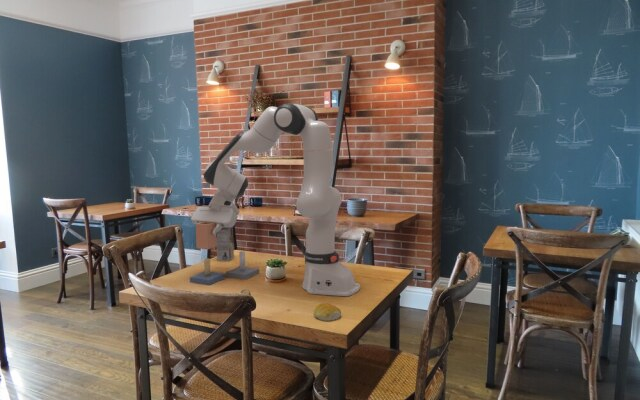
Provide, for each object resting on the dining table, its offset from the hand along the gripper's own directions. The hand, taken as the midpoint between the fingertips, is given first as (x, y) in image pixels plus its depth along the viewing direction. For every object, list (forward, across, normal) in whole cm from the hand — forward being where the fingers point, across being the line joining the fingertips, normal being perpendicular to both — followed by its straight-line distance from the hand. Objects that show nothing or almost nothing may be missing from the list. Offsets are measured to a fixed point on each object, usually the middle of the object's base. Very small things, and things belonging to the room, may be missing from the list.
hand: (205, 233), depth 181 cm
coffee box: (-8, -14, +36) cm, 39 cm away
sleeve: (+4, 0, +4) cm, 6 cm away
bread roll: (+25, +60, +3) cm, 65 cm away
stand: (+5, +9, +22) cm, 25 cm away
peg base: (+14, 0, +14) cm, 20 cm away
